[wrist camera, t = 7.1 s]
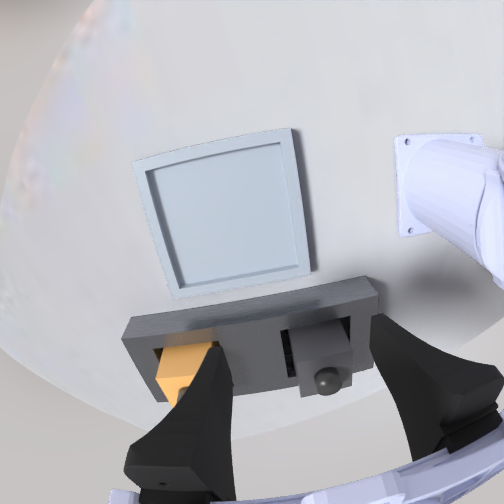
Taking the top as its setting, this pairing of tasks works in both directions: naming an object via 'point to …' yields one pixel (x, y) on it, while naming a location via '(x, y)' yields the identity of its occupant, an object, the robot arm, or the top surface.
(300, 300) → the strip
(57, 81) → the top surface
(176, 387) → the plug
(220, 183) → the tray
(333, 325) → the grey block with knob
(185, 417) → the robot arm
